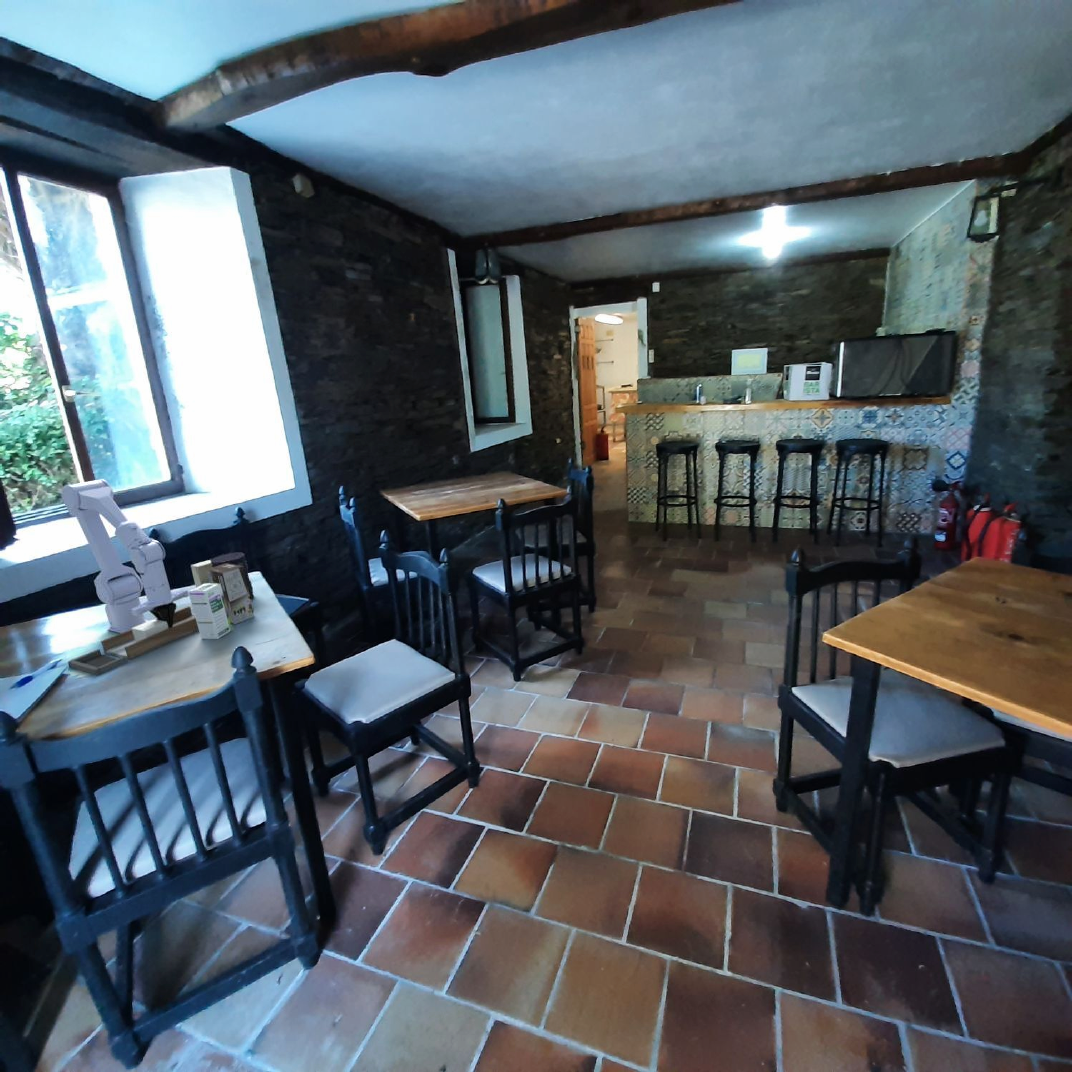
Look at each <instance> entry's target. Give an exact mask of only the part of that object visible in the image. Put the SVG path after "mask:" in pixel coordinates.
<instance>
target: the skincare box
mask: <svg viewBox="0 0 1072 1072" xmlns="http://www.w3.org/2000/svg"><path fill="white" fill-rule="evenodd" d="M190 568H191V572H192V577H193V581H194V585H195V588H197V587H199V586H201V585H202V584H207V583H210V582H209V578H208V574H207V570H208V569H211V568H212V563H211V559H209V560H208V559H207V560H205V561H200V562H198V563H194V564H190Z"/></svg>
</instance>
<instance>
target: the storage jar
mask: <svg viewBox="0 0 1072 1072" xmlns="http://www.w3.org/2000/svg"><path fill="white" fill-rule="evenodd" d="M245 555H246V554H245V553H243V552H238V551H237V552H229V553H225V554H224V553H223V554H220V555H218V556H217V555H216V556H215V557H212V558H210V560H211V563H212V568H214V567H216V566H219V565H222V564H225V563H229V564H234V565H239V566H243V569H244V573H245V578H246V582H247V586H248V591H249V595H250V599H251V601H253V599H255V595H254V591H253V590H254V589H253V585H252V581H251V580H250V577H249V576H250V575H249V566H248V563H247V560H246V556H245Z"/></svg>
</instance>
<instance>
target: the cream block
mask: <svg viewBox="0 0 1072 1072" xmlns="http://www.w3.org/2000/svg"><path fill="white" fill-rule="evenodd" d="M155 619H156V618H155ZM155 619H151V620H149V621H148V622H146V623H143V624H141V625H138V626H136V627H133V628H132V632H133V635H134V638H135V641H136V642H138V641H140V640H143V639H145V638H147V637H150V636H152V635H154V634H157V633H159V632H161V631H164V630H166V629H169V628H168V624H167V622H165V621H160V620H155Z"/></svg>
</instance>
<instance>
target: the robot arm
mask: <svg viewBox="0 0 1072 1072" xmlns="http://www.w3.org/2000/svg"><path fill="white" fill-rule="evenodd" d="M61 498H62V501H63V503H64V505H65V507H66V510H67V511H68V513H69V516H71V517H72V516H73V517H76V520H77V522H78V524H79V526H80V528H81V531H82V532H83V534H84V537H85V538H86V539H85V540H86V541H87V543H88V545H89V548H90V550H91V552H92V553H93V556H94V558H95V560H96V563H97V565H98V566H99V568H100V572H99V574H98V575H97V576H96V578H95V579H94V580H93V582H94V586H95V589H96V595H97V597H98V598H99V600H100V601H101V602H102V603H104V604H105V606H104V607H105V608H104V611H105V614H106V617H107V621H108V624H109V627H107V628H106V629H107V631H110V632H111V631H112V632H116V633H118V634H120V633H122V632H125V631H127V630H130V629H132V628H133V627H136V626H138V625H141V624H143V623H146V622H148V621H150V620H148V619H146V618H145V617H146V616H145V614H144V613H148V612H149V613H151V614H152V615H153V616H154V617H155V619H158V620H160V621H165V622H167V624H168V628H171V627H173V617H174V612H175V611H176V609H177V603H175V602H176V601H179V600H181V599H183V598H188V597H189V594H188V592H189V591H188V590H187V589H181V590H178V591H175V592H171V588H170V584H169V581H168V576H167V573H166V569H165V566H164V562H163V560H165V557H166V550H165V548H164V546H163V545H162V543H161V542H159V541H158V540H156V539H154V538H152V537H149V536H148V535H147V534H146V533H145V531H144V530H143V529H141V527H140V526H139V525H138V524H137V523H136V521H135V522H133V521H129V520H128V518H127V517H126V515H125V514H124V513H123V511H122V510H121V509H120V507H119V506H118V505H117V503H116V501H114V491H113V488H112V486H111V485H110V484H109V482H108V481H107V480H106V479H103V478H99V479H97V480H90V481H85V482H79V483H74V484H65V485H64V486H63V487H62V490H61ZM101 516H102V517H103V518H104V519H105V520H106V521H107V522H108V523H109V524H110V525H111V526H112V527H113V528H114V529H115V531H114V536H115V537H116V538H117V539H118V541H120V542H121V544H122V545H123V546H124V547H125V548H126V549H127V551H128V552H129V559H130V561H131V563H132V564H133V565H134V567H135V569H134V568H133V567H130V566H127V565H124V564H122V561H121V559H120V557H119V555H118V553H117V551H116V548H115V546H114V544H113V542H112V539H111V537H110V535H109V533H108V531H107V528H106V527H105V524H104V522H103V520H102V518H101ZM138 573H139V575H140V576H139V575H138ZM113 578H115V579H113ZM111 579H112V580H111ZM143 589H144V592H145V595H146V600H147V601H146V602H143V603H142V602H141V600H140V596H141V595H142V594H141V593H142V591H143Z"/></svg>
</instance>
